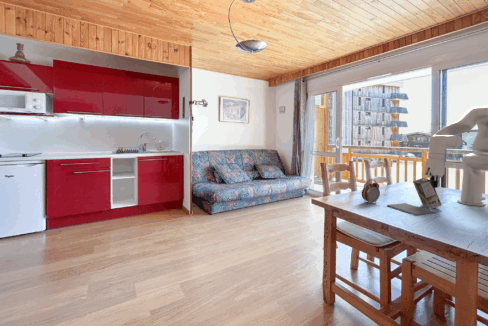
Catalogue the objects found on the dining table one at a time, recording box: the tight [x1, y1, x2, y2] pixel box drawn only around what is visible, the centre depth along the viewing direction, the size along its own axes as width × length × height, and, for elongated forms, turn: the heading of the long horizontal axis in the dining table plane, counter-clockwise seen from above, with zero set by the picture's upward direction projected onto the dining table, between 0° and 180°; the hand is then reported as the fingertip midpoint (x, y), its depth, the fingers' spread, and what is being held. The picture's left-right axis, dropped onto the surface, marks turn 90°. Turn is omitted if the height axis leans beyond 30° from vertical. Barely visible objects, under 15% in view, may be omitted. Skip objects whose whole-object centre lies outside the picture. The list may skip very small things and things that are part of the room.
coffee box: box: [412, 177, 443, 210], centre depth 139 cm, size 9×6×16 cm
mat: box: [386, 202, 436, 216], centre depth 135 cm, size 14×18×1 cm
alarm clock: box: [361, 179, 381, 203], centre depth 148 cm, size 11×5×15 cm, turn 105°
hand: (433, 187), depth 138 cm, fingers closed
